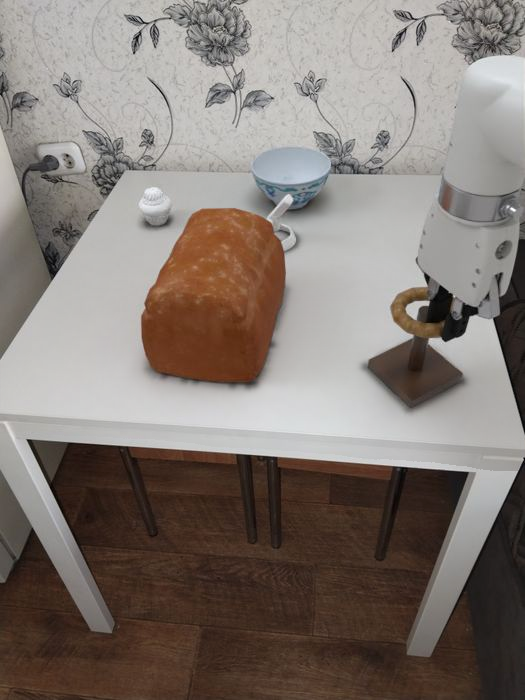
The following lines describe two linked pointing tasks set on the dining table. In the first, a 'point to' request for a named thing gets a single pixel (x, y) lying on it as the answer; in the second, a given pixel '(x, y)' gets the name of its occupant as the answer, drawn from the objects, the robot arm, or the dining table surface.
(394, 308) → the ring
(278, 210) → the hook
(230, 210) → the bread
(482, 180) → the robot arm
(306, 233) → the dining table surface
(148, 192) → the muffin
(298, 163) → the chinaware
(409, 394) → the stand
